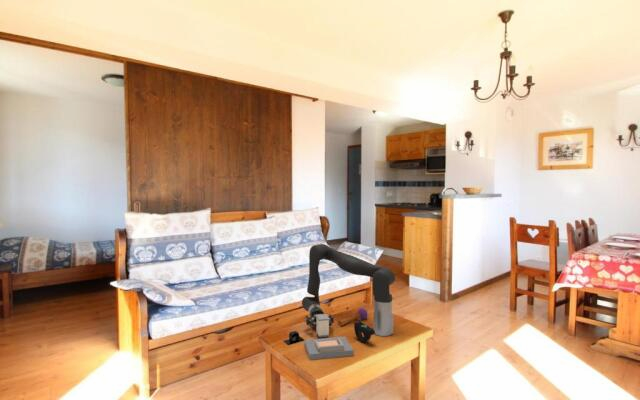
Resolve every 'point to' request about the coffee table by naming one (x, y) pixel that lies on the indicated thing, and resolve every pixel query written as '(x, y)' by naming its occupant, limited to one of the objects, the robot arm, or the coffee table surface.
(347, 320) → the kendama
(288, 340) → the black notched block
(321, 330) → the box with lid
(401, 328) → the coffee table surface
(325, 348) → the dock
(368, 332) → the controller
